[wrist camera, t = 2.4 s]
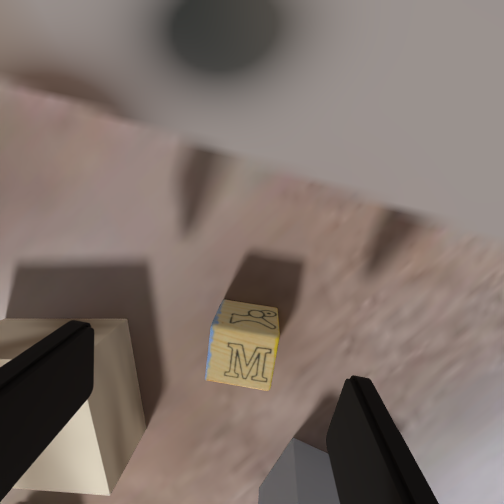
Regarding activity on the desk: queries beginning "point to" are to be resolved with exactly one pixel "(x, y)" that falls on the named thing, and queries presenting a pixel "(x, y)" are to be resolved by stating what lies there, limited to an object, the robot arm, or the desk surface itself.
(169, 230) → the desk surface
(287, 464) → the slate block
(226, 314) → the alphabet block
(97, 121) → the desk surface
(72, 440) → the birch block
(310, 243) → the desk surface
